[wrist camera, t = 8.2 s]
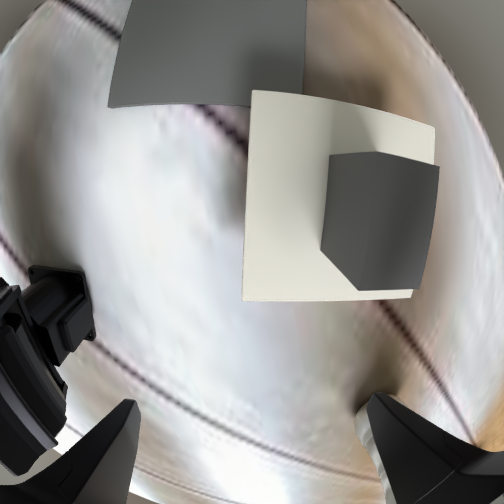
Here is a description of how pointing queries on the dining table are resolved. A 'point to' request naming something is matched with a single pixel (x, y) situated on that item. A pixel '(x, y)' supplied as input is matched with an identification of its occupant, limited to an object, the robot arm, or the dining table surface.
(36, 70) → the dining table surface
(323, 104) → the lid
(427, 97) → the dining table surface
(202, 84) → the mat
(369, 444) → the plastic bottle
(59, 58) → the dining table surface
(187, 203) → the dining table surface
